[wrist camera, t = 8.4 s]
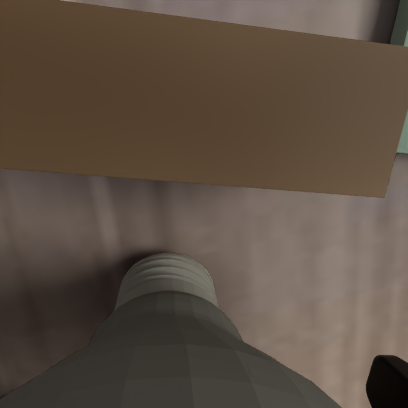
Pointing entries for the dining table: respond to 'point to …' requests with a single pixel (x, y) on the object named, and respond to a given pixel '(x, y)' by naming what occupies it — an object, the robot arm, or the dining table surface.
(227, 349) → the light bulb
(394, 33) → the mat
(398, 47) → the cradle
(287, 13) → the dining table surface
